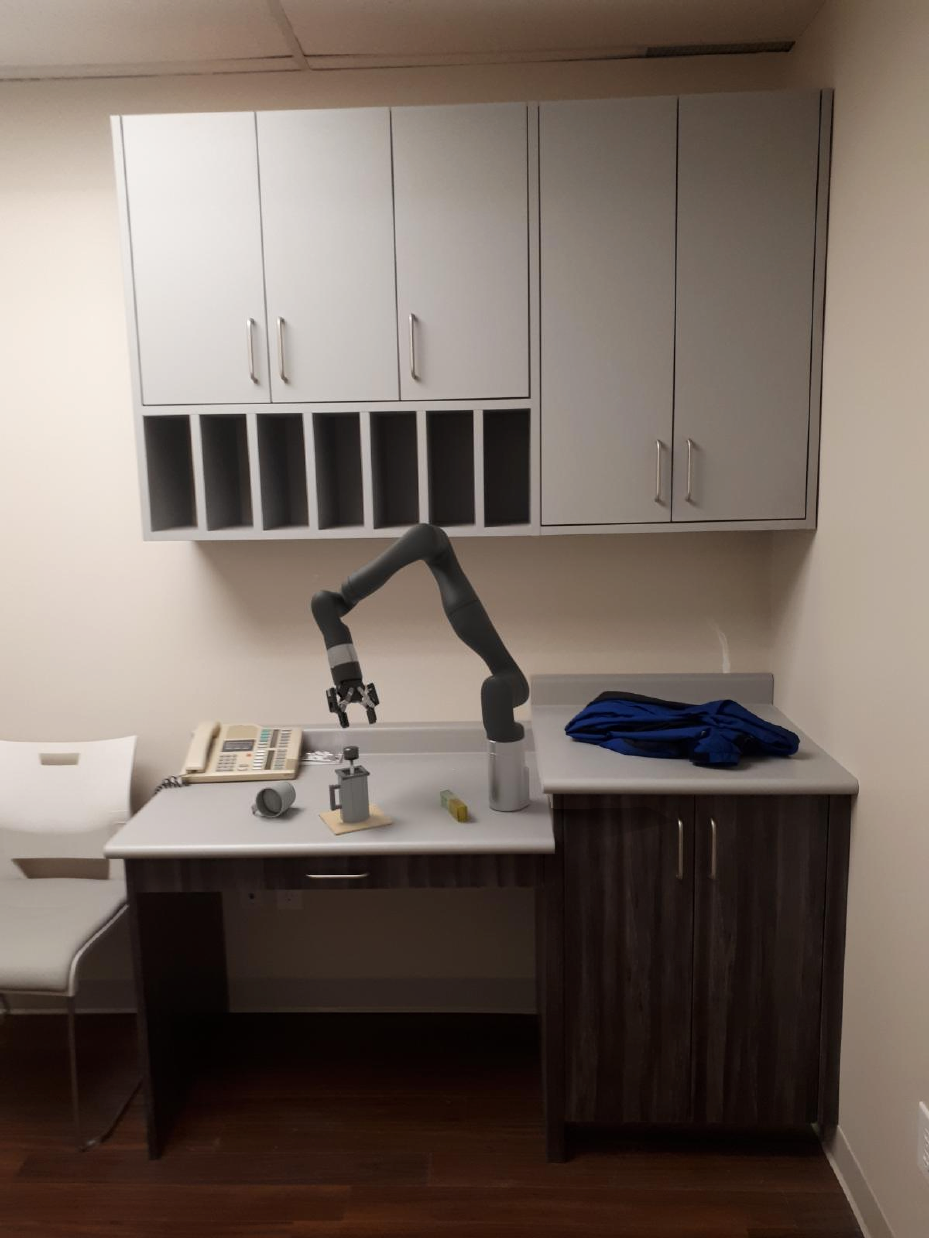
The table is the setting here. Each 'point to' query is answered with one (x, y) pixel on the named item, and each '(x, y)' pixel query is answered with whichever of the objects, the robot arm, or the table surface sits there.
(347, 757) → the plunger
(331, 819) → the carafe
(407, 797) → the table surface
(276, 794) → the ceramic mug
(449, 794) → the medication box
